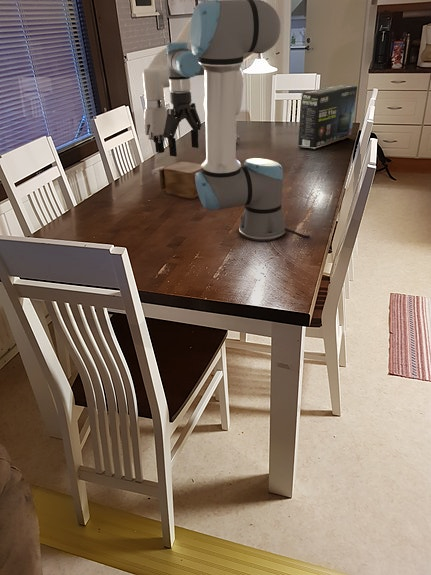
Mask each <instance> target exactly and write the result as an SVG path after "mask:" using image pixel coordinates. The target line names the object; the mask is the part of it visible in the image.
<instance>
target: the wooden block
mask: <svg viewBox="0 0 431 575" xmlns="http://www.w3.org/2000/svg"><path fill="white" fill-rule="evenodd" d="M175 163H176V164H174V163H173V164H174V165H171V164H170V165H171V166H169V165H167V166H168V167H166V166H165V167H166V168H164V174H165V185H166V189H165V193H166V194H169V195H173V196H177V197H180V198H181V197H182V198H187V199H190V200H193V199H195V198H197V197H199V195H198V192H197V188H196V182H195V176H196V173H198V172H201V165H202V163H201V164H200V163H195V162H190V161H189V162H188V161H182V160H181V161H179V162H175Z"/></svg>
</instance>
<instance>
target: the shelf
mask: <svg viewBox="0 0 431 575" xmlns="http://www.w3.org/2000/svg"><path fill="white" fill-rule="evenodd" d="M176 163H177V162H174V163H172V164H169V165H167V166H164V165H163V166H160V167H157V168H154V169H152V170H151V174H152V175H156V174H158V175H159V182H160V189H161V190H166V185H165V174H164V168H166V167H168V166H171V165H174V164H176Z"/></svg>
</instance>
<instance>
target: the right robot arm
mask: <svg viewBox="0 0 431 575" xmlns="http://www.w3.org/2000/svg"><path fill="white" fill-rule="evenodd" d="M191 17H192V19H191V26H190V43H191V51H189V48H188V44H187V43H186V42H175V41H173V42H174V43H173V42H168V43H167V44H166V47H167V54H166V55H167V61H168V73H169V84H170V87H169V91H170V93H169V98H170V103H171V104H172V106H173V107H172V108H167V119H166V124H165V129H164V134H163V137H165V139H167V144H168V145H167V146H168V148H169V149H168V150H169V156H170V157H175V158H176V157H178V152H177V151H178V150H177V141H176V137H175V135H176V133H177V130H178V128H179V124H180V122H182V120H184V119H185V120H186V122H187V123H188V125H189V126H190V128H191V129H190V138H191V140H190V141H191V148H193V149H194V148H195V149H199V147H200V146H199V131H201V128H202V126H203V124H202V122H201V119H200V116H199V114H198V111H197V108H196V107H197V106H196V103H195V102H192V100H193V99H192V92H191V90H192V83H191V82H192V81H191V78H194V77H196V76H197V77H198V76H204V98H205V110H204V114H205V116H204V118H205V153H206V154H205V155H206V156H205V160H204V161H202V163H201V172H198V173H196V176H195V182H196V188H197V192H198V195H199V196H198V198H199V201H200V203H201V205H202V207H203V208H204V209H206V210H207V211H217V210H218V211H220V210H225V209H231V208H237V207H242V206H244V211H243V213H242V215H241V217H240V222H239V226H238V232H239V235H240V236H241V237H242V238H244V239H247V240H250V241H254V242H271V241H277V240H279V239H281V238H283V237H285V235H286V234H287V232H288V233H290V234H293V235H296V236H297V237H298V236H299V237H301V238H306V239H310V235H309V234H308V235H307V234H302V233H300V232H297V231H296V230H292V229H289V228H287V223H286V221H285V216H284V214H283V210H282V200H283V183H284V174H283V173H284V172H283V171H284V170H283V166H282V164H280V163H279V162H277V161H275V160H271V159H268V158H259V157H258V158H257V157H253V158H248V159H245V160H244V163H243V165H242V163H241V162H240V161H239V160H238V159H237V142H236V134H237V120H238V119H237V118H238V117H237V116H238V115H237V72H238V71H239V70H240V69H241V67H242V65H243V63H244V62H245V61H246V60H248V59H249V58H251V57H252V56H254V55H256V54H258V55H260V54H264V53H266V52H267V51H269V50H271V49H272V48H273V47H274V46H275V45H276V44H277V43H278V40H279V39H280V35H281V32H282V23H281V18H280V16H279V14H278V12H277V11H276V9H275V8H274V7H273V6H272V5H271V4H270V3H268V2H267V1H264V0H206V1H202V2H199V3H198V4H197V5H196V6H195V8H194V10H193V12H192V14H191Z"/></svg>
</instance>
